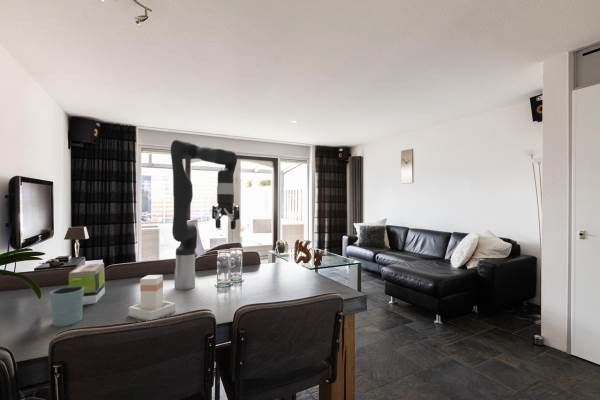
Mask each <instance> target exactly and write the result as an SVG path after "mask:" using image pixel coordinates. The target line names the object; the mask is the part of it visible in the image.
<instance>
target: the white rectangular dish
mask: <svg viewBox="0 0 600 400" xmlns="http://www.w3.org/2000/svg"><path fill="white" fill-rule="evenodd" d="M174 313H176V303H175V302H170V301H167V300H163V307H162V308H159V309H157V310H154V311H148V310H144V309H141V302H140V303H136V304H133V305H131V306H129V307H128V316H129V317H131V318H135V319H139V320H141V319H143V320H142V321H145V320H150V319H155V318H160V317H162V318H164V317H167V316H169V315H171V314H174ZM160 319H161V318H160Z"/></svg>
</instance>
